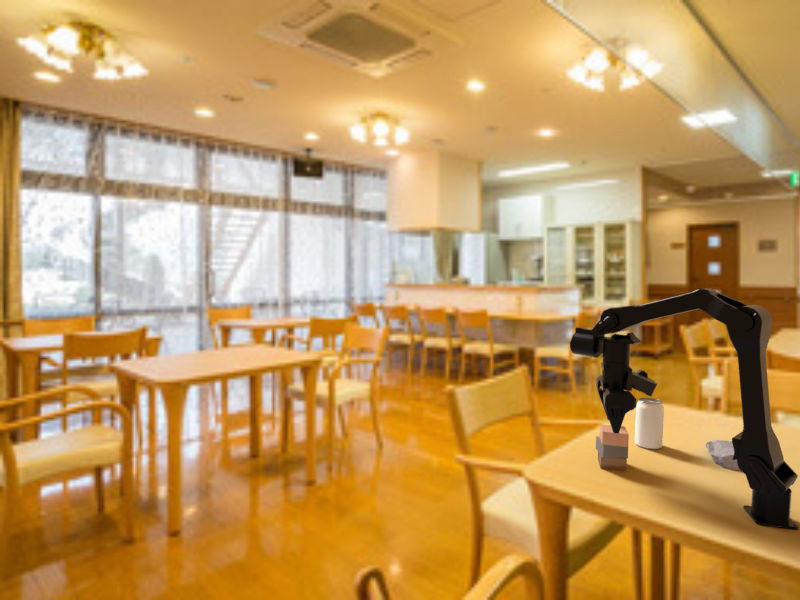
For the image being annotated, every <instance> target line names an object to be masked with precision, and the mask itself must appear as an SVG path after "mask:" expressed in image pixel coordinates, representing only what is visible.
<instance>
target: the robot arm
mask: <svg viewBox="0 0 800 600" xmlns="http://www.w3.org/2000/svg"><path fill="white" fill-rule="evenodd" d="M697 310H701V311H703V312H704V313H706V314H707V315H709V316H710V317H712V318H713V319H715V320H716V321H718V322H720V323H721V324H724V325H725V327H726V330H727V334H728V337H729V340H730V341H731V344H732V346H733V348H734V349H735V351H736V355H737V364H738V365H737V366H738V376H739V387H740V388H739V389H740V397H741V398H740V399H741V400H740V401H741V411H742V412H741V413H742V414H741V415H742V423H743V424H742V425H743V428H742V431H740V432H739V433H738V434H736V435H735V436H733V437H732V438H731V441H732V444H733V447H734V456H733V460H736V459H737V464H738V467H739V469H740V470H739V471H741V472H742V473H743V474H744V475H745V477H746V481H747V484H748V485H749V488H750V489H751V490H752V493H751V505H747V504H746V505H745V504H743V509H744V511H746V513H747V514H748V515H749V517H750V518H751V519H752V520H753V521H754V522H755V523H756V524H758V525H762V526H771V527H778V528H784V529H791V528H792V529H791V530H799V525H798V524H796V522H795V521H794V520H793V519H792V518H791V508H792V507H791V505H792V492H793V491H792V489H791V486H793V485H794V484H795V482H796V480H798V477H799V476H798V473H796V471H795V470H794V469H793V468H792V467H791V466H789V464H788V463H787V462H786V461H785V459H784V455H783V451H782V448H781V445H780V444H781V443H780V441H779V440H778V437H777V434H776V433H775V430H774V429H773V426H772V417H771V405H770V392H769V382H768V381H769V380H768V379H769V378H768V370H767V368H768V367H767V358H766V357H767V356H766V355H767V354H766V352H767V349H768V345H769V341H770V339H771V338H770V337H771V333H772V325H773V317H772V315H771V313H770V311H769V310H767V309H766V308H764V307H763V306H761V305H758V304H757V305H754V304H751V305H750V304H749V305H748V304H746V303H744V302H742V301H740V300H738V299H734V298H732V297H729V296H727V295H724V294H722V293H719V292H717V291H716V290H715V289H712V288H710V287H709V288H706V287H705V288H697V289H696V290H694V291H690V292H687V293H684V294H679V295H675V296H672V297H668V298H664V299H659V300H655V301H651V302H647V303H644V304H639V305H624V306H623V305H622V306H615V307H614V306H613V307H607V308H605V309H604V310H603V311H602V313H601V315H600V319H599V321H598V322H597V323H596V324H595V326H593V328H588V327H585V326H578V327H575V332H574V333H573V334H572V337H571V339H570V340H569V341H570V342H569V349H570V351H571V353H572V354H574V355H580V356H584V357H590V358H599V357H600V356H601V355H602V362H601V363H600V367H601V368H602V369H601V371H602V372H601V374H600V375H599V376H598V377H597V378H596V380H595V381H596V383H595V385H596V390H597V393H598V396H599V399H600V402H601V405H602V407H603V410H604V413H605V416H606V419H607V420H608V421H609V425H611V427H612V430H613V433H617V434H618V433H619V431H620V428H621V426H623V422H624V419H625V416H626V415H627V413H629V412H631V411H633V410H634V409H636V405H637V398H636V397H635V395H634V394H633V393H632V391H633V389H634V390H635V391H638V392H640V393H643V394H645V396H648V397H652V396H653V394H654V392H655V390H656V387H657V386H658V383H657V382H656V381H655V380H654V379H652V378H651V377H649V375H648V372H647V371H644V370H643V369H639V370H638V371H633V368H632V367H631V366H630V362H631V361H630V359H631V345H636V344H640V343H641V339H640V338H638V337H637V336H636V335H635V333H634V332H633V331H632V332H628V333H626V334H620V333H621V332H625V331H626V332H627V331H630V330H632V329H635V328H637V327H639V326H641V325H644V324H645V323H648V322H649V321H652V320H657V319H660V318H661V319H662V318H666V317H671V316H674V315H678V314H684V313H687V312H692V311H693V312H694V311H697ZM618 333H619V334H618ZM609 334H611V336H605V335H609Z"/></svg>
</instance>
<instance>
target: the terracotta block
mask: <svg viewBox="0 0 800 600" xmlns="http://www.w3.org/2000/svg"><path fill="white" fill-rule="evenodd" d="M598 432H599V434H598V437H600V440H601V442H602V444H603V445H612V446H622V447H628V448H629V440H630V434H629V432H628V430H627V428H626V426H623V425H621V428H620V431H619V433H618V434H617V433H613V430H612V427H611V424H599V431H598Z"/></svg>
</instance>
